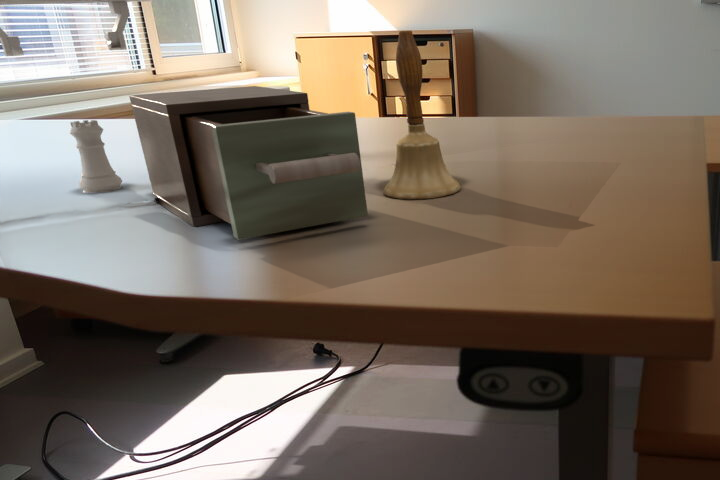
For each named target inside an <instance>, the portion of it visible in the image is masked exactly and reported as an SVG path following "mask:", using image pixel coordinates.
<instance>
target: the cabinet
mask: <svg viewBox="0 0 720 480" xmlns="http://www.w3.org/2000/svg"><path fill="white" fill-rule="evenodd" d="M266 87H267V86H260V85H259V86H258V85H249V86H235V87H222V88H208V89H196V90H195V89H194V90H182V91H169V92H156V93H141V94H129V95H128V97H129V101H130V104H131V108H132V114H133V117H134V121H135V125H136V129H137V133H138V137H139V142H140V147H141V150H142V154H143V158H144V162H145V165H146V169H147V174H148V177H149V181H150V186H151V189H152V194H153V196H155V198H154V202H156V203H157V204H159V205H160V206H162V207H163V208H165V209H166V210H167V211H169V212H171V213H172V214H174V215H175V216H177V217H179V218H180V219H181V220H183V221H184V222H186V223H187V224H190V225H191V226H192V227H194V228H196V227H201V226H206V225H207V226H208V225H214V224H220V223H224V222H226V221H224V220H223V219H221V218H219V217H217V216H216V215H214V214H212V213H210V212H209V211H207V210H205V209H203V208H202V207H200V204H199V198H198V195H197V190H196V186H195V181H194V177H193V172H192V168H191V163H190V159H189V154H188V150H187V145H186V141H185V136H184V132H183V127H182V123H181V118H180V116H184V115H195V114H206V113H217V112H228V111H239V110H250V109H261V108H271V107H282V106H289V107H295V108H300V109H306V110H310V109H311V108H310V104H309V102H310V101H309V96H308V95H309V94H308V93H307V92H301V91H297V90H296V91H295V90H290V91H288V90H281V89H273V88H266Z"/></svg>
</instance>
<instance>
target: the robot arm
mask: <svg viewBox="0 0 720 480" xmlns="http://www.w3.org/2000/svg"><path fill="white" fill-rule="evenodd" d="M153 1H155V0H0V6H10V5H11V6H12V5H50V4H51V5H52V4H53V5H54V4H55V5H56V4H58V5H59V4H93V3H94V4H95V3H107V4H108V8H109V12H110V14H111V15H116V17H115V20H114V24H113V27H112V31H107V32H106V31H105V32H104V38H105V40H106V41H107V44H106V45H107V48H108V50H109V51H122V50H123V51H125V50H127V44H126V40H125V36H124V32H125V30H126V29H125V28H126V25H127V22H128V19H129V16H130V10H129V6H128V3H136V2H137V3H139V2H153ZM0 43H1V47H2V50H3V53H4V55H5V57H19V56H20V57H21V56H24V50H23V48H22V47H21V41H20V38H19V35H15V36H13V35H12V36H9V34H7V33H6V32H5V31H4V30H3V28H2V27H0Z"/></svg>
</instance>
